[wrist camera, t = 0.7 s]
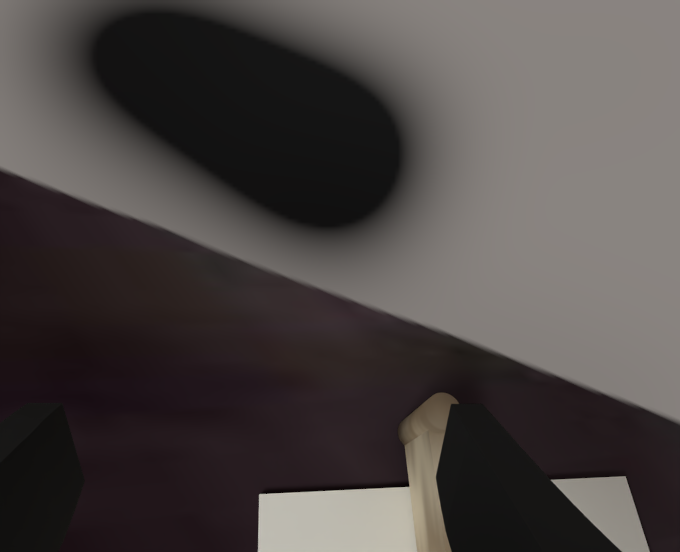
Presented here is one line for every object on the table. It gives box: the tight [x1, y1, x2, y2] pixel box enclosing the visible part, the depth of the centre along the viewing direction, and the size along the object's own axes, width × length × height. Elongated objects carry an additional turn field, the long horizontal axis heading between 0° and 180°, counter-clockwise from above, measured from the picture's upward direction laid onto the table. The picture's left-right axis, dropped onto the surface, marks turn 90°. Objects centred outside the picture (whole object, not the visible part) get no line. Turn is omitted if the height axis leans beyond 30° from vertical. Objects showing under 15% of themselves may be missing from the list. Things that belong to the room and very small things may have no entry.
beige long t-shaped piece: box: [398, 393, 459, 552], centre depth 21 cm, size 12×2×5 cm, turn 4°
